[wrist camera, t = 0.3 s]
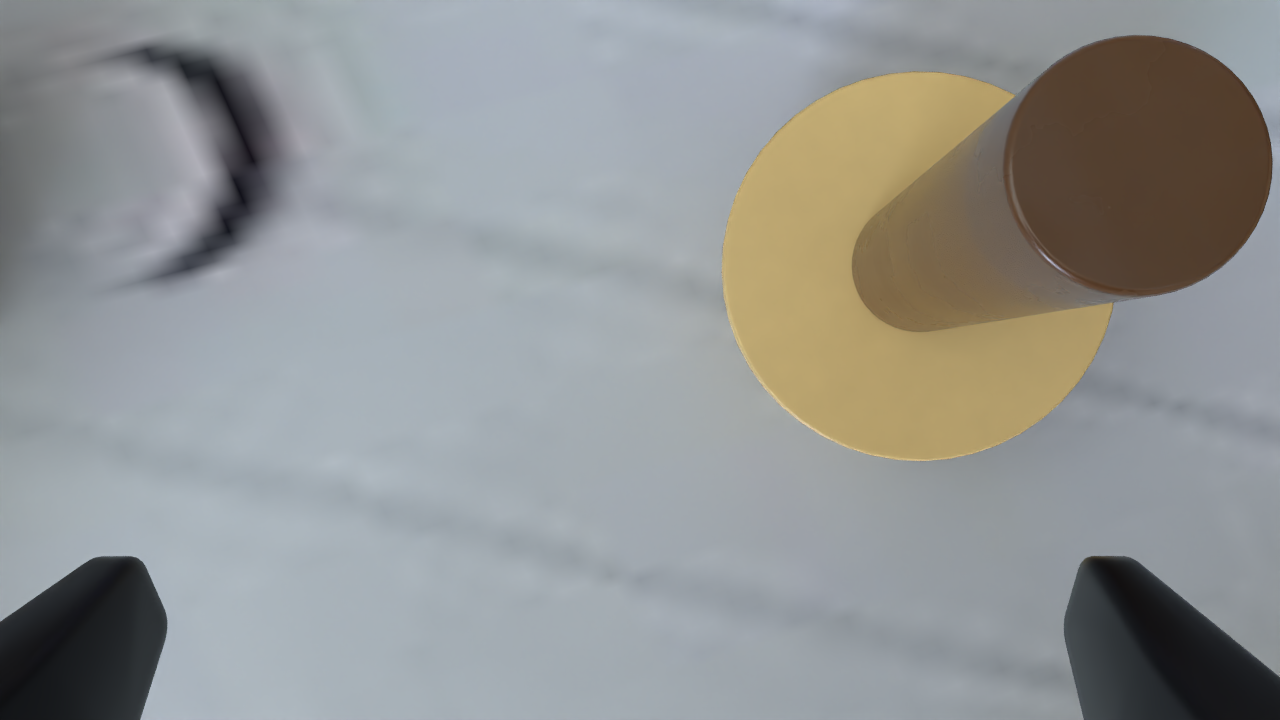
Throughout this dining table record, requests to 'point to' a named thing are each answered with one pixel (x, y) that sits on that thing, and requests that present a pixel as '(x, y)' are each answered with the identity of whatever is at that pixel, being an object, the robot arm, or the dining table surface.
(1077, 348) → the peg on round base
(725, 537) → the dining table surface
